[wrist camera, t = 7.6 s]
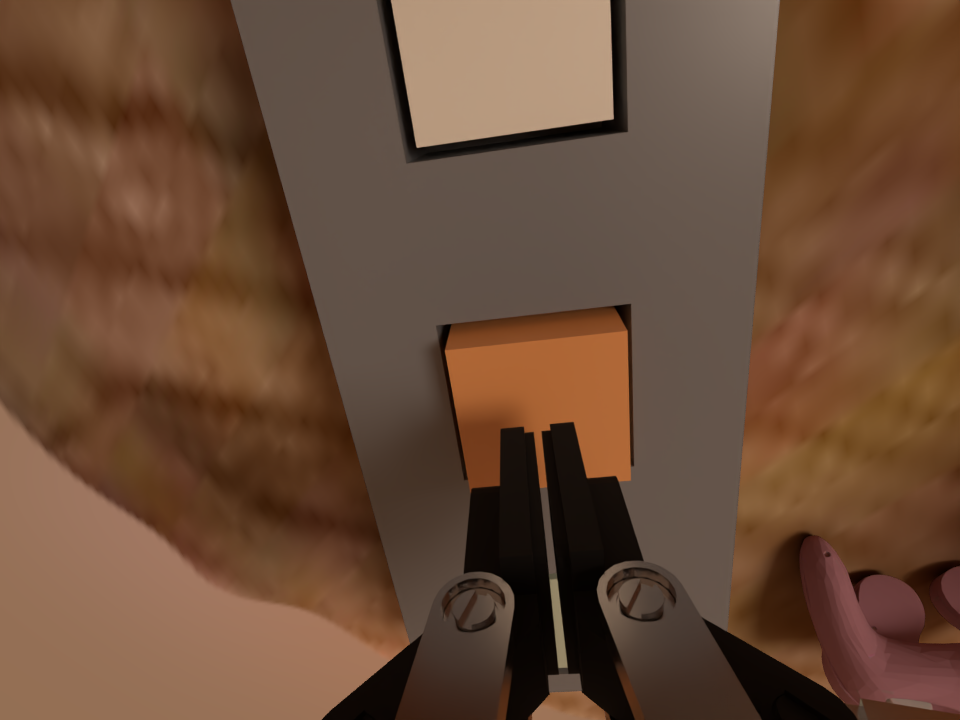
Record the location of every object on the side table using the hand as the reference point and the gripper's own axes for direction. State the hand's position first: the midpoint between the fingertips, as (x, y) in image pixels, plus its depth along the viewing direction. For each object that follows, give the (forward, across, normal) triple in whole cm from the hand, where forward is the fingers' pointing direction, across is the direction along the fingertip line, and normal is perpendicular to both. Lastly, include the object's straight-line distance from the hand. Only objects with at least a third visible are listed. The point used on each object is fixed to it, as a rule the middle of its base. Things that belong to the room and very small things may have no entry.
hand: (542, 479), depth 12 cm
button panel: (+7, 0, -1) cm, 7 cm away
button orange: (+5, 0, -1) cm, 5 cm away
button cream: (+6, 0, -10) cm, 11 cm away
